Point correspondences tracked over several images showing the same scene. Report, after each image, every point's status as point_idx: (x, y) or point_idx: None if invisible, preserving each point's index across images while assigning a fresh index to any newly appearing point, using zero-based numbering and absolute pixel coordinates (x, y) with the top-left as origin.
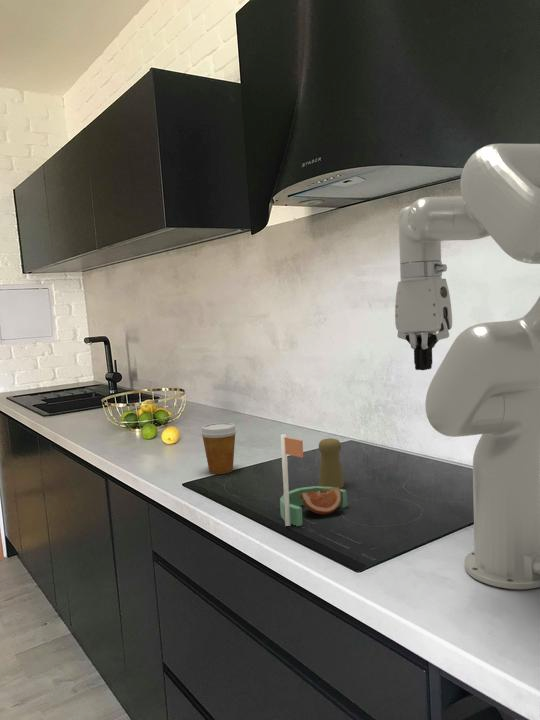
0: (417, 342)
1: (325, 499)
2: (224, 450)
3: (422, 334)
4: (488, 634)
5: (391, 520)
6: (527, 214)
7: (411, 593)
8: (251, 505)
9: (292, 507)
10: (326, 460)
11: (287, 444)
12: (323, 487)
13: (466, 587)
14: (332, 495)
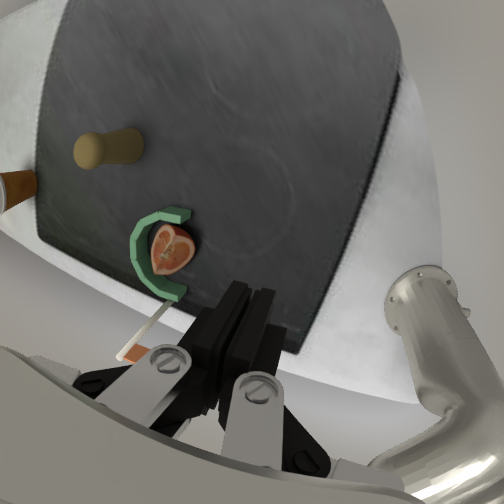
0: (172, 417)
1: (178, 255)
2: (17, 196)
3: (141, 423)
4: (407, 383)
5: (266, 227)
6: None
7: (350, 366)
8: (111, 258)
9: (170, 299)
10: (105, 162)
11: (132, 354)
12: (150, 219)
13: (390, 342)
14: (179, 246)
